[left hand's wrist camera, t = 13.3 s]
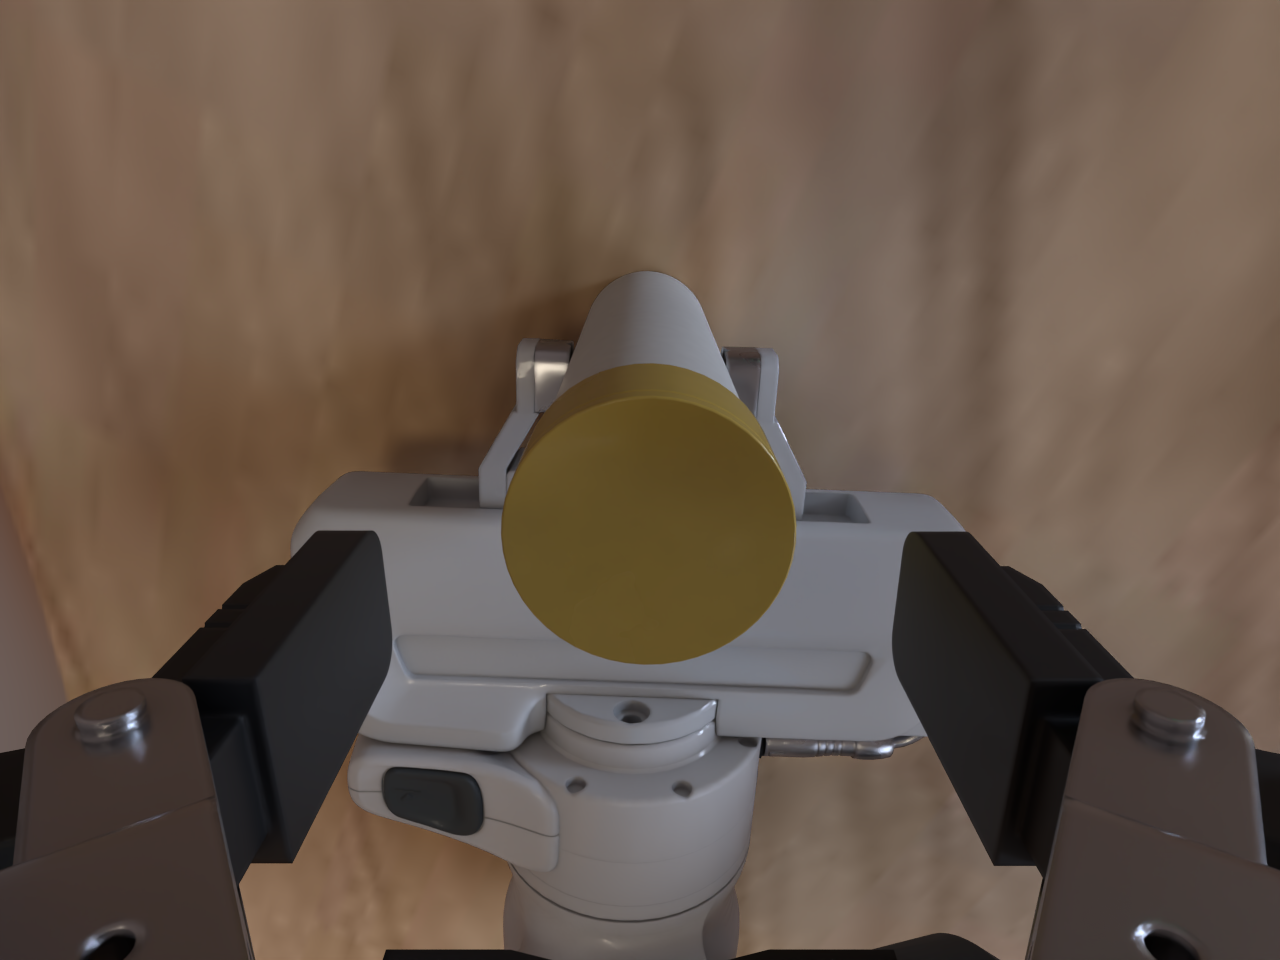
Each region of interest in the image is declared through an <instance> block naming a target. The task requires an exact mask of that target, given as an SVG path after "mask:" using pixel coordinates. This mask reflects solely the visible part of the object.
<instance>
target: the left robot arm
mask: <svg viewBox="0 0 1280 960" xmlns="http://www.w3.org/2000/svg"><path fill="white" fill-rule="evenodd" d="M391 655H392V626H391V618H390V610H389V602H388V594H387V586H386V578H385V570H384V562H383V554H382V547H381V543H380V540H379V537H378V535H377V534H376V532H375V531H372V530H319V531H316V532H315V533H314V534H313V535H312V536H311V537H310V538H309V539H308V540H307V541H306V542H305V544H304V545H303V546H302V547H301V548H300V549H299V550H298V551H297V552H296V553H295V555H294V556H293V557H292V558H291V559H290V560H289V561H288V562H287V563H286V565H276V566H274V567H272V568H270V569H268V570H267V571H265V572H263V573H261V574H259V575H258V576H256V577H254V578H252V579H250V580H248V581H247V582H245V583H243V584H242V585H241V586H240V587H239V588H238V589H237V590H236V591H235V592H234V593H233V594H232V595H231V596H230V597H229V598H228V599H227V601H226V602H225V603H224V604H223V605H222V609H218V610H217V611H216V612H215V613H214V614H213V615H212V616H211V617H210V618H209V619H208V620H207V621H206V622H205V627H204V628H199V629H198V630H197V631H196V633H195V634H194V635H193V636H192V637H191V638H190V639H189V640H188V641H187V642H186V643H185V644H184V645H183V646H182V647H181V648H180V649H179V650H178V651H177V652H176V653H175V654H174V655H173V656H172V657H171V658H170V659H169V660H168V661H167V662H166V663H165V664H164V666H163V667H162V668H161V669H160V670H159V671H158V672H157V673H156V674H155V675H154V676H153V677H152V678H146V679H136V680H130V681H124V682H120V683H116V684H112V685H108V686H105V687H102V688H99V689H96V690H93V691H91V692H88V693H86V694H83V695H81V696H79V697H77V698H75V699H73V700H71V701H69V702H67V703H66V704H64V705H62V706H60V707H59V708H57V709H56V710H55V711H53V712H52V713H50V714H49V715H47V716H46V717H45V718H44V719H43V720H42V721H41V722H40V723H38V725H37V726H36V727H35V728H34V729H33V730H32V732H31V734H30V735H29V737H28V739H27V742H26V746H25V748H24V749H19V750H14V751H9V752H4V753H0V960H255V956H254V952H253V947H252V942H251V938H250V933H249V928H248V924H247V919H246V914H245V910H244V905H243V901H242V897H241V892H240V888H239V883H240V881H241V879H242V878H243V876H244V874H245V872H246V871H247V869H248V867H249V865H250V864H251V863H293V861H294V859H295V857H296V855H297V853H298V851H299V849H300V847H301V845H302V843H303V841H304V839H305V837H306V835H307V833H308V831H309V829H310V827H311V825H312V823H313V821H314V819H315V817H316V815H317V813H318V811H319V809H320V807H321V805H322V803H323V801H324V799H325V797H326V795H327V793H328V791H329V789H330V788H331V786H332V784H333V782H334V780H335V778H336V776H337V774H338V772H339V770H340V768H341V766H342V764H343V762H344V760H345V758H346V756H347V754H348V752H349V750H350V748H351V746H352V744H353V742H354V740H355V738H356V736H357V734H358V732H359V730H360V728H361V726H362V724H363V722H364V720H365V718H366V716H367V714H368V712H369V710H370V708H371V706H372V704H373V702H374V700H375V698H376V696H377V694H378V692H379V690H380V688H381V686H382V684H383V682H384V680H385V678H386V676H387V673H388V670H389V666H390V662H391ZM892 655H893V662H894V667H895V671H896V674H897V677H898V679H899V681H900V683H901V685H902V687H903V689H904V691H905V693H906V695H907V697H908V699H909V701H910V703H911V705H912V707H913V708H914V710H915V712H916V714H917V716H918V718H919V720H920V722H921V724H922V726H923V728H924V730H925V732H926V734H927V736H928V738H929V740H930V742H931V744H932V746H933V748H934V749H935V751H936V753H937V755H938V757H939V759H940V761H941V763H942V765H943V767H944V769H945V771H946V773H947V775H948V777H949V779H950V781H951V783H952V785H953V787H954V789H955V791H956V792H957V794H958V796H959V798H960V800H961V802H962V804H963V806H964V808H965V810H966V812H967V814H968V816H969V818H970V820H971V822H972V824H973V826H974V828H975V830H976V832H977V834H978V835H979V837H980V839H981V841H982V843H983V845H984V847H985V849H986V851H987V853H988V855H989V857H990V859H991V861H992V863H993V865H994V866H1037V868H1038V870H1039V872H1040V873H1041V875H1042V877H1043V879H1042V884H1041V888H1040V892H1039V897H1038V901H1037V905H1036V910H1035V914H1034V919H1033V924H1032V928H1031V933H1030V938H1029V942H1028V947H1027V952H1026V956H1025V960H1280V754H1277V753H1272V752H1267V751H1262V750H1258V749H1255V746H1254V742H1253V739H1252V737H1251V735H1250V734H1249V732H1248V730H1247V729H1246V728H1245V727H1244V726H1243V725H1242V723H1241V722H1239V721H1238V720H1237V719H1236V718H1235V717H1234V716H1233V715H1231V714H1230V713H1228V712H1227V711H1226V710H1224V709H1223V708H1221V707H1220V706H1218V705H1216V704H1214V703H1213V702H1211V701H1209V700H1207V699H1205V698H1203V697H1201V696H1199V695H1197V694H1194V693H1192V692H1189V691H1187V690H1184V689H1181V688H1178V687H1175V686H1172V685H1168V684H1164V683H1160V682H1156V681H1150V680H1144V679H1134V678H1133V677H1132V676H1131V675H1130V674H1129V673H1128V672H1127V671H1126V670H1125V669H1124V668H1123V667H1122V666H1121V665H1120V664H1119V663H1118V662H1117V660H1116V659H1115V658H1114V657H1113V656H1112V655H1111V654H1110V653H1109V652H1108V651H1107V650H1106V649H1105V648H1104V647H1103V646H1102V645H1101V644H1100V643H1099V642H1098V641H1097V640H1096V639H1095V638H1094V637H1093V636H1092V635H1091V634H1090V633H1089V632H1088V631H1087V630H1086V629H1081V624H1080V623H1079V622H1078V621H1077V620H1076V619H1075V618H1074V617H1073V616H1072V615H1071V614H1070V613H1069V611H1064V609H1063V605H1062V604H1061V603H1060V602H1059V601H1058V600H1057V599H1056V598H1055V597H1054V596H1053V595H1052V594H1051V593H1050V592H1049V591H1048V590H1047V589H1046V588H1045V587H1044V586H1043V585H1042V584H1040V583H1038V582H1036V581H1035V580H1033V579H1031V578H1029V577H1027V576H1025V575H1024V574H1022V573H1020V572H1018V571H1016V570H1015V569H1013V568H1011V567H1009V566H1000V565H999V564H998V563H997V562H996V561H995V560H994V559H993V558H992V557H991V556H990V554H989V553H988V552H987V551H986V550H985V549H984V548H983V547H982V546H981V545H980V544H979V542H978V541H977V540H976V539H975V538H974V537H973V536H972V535H971V534H970V533H969V532H966V531H912V532H910V533H909V534H908V535H907V537H906V539H905V542H904V546H903V551H902V558H901V566H900V574H899V582H898V590H897V598H896V606H895V614H894V622H893V629H892ZM383 960H550V959H546V958H542V957H538V956H534V955H530V954H526V953H522V952H518V951H514V950H386V952H385V955H384V958H383ZM730 960H897V958H896V955H895V952H894V950H766V951H762V952H758V953H754V954H750V955H746V956H742V957H738V958H734V959H730Z"/></svg>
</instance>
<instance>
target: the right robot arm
mask: <svg viewBox="0 0 1280 960" xmlns="http://www.w3.org/2000/svg"><path fill="white" fill-rule="evenodd" d="M573 352H574V342H573V341H570V340H553V339H540V338H523V339H522V340H521V342H520V343H519V345H518V348H517V356H516V405H515V406H514V408H513V410H512V411H511V413H510V415H509V416H508V418H507V420H506V422H505V423H504V425H503V427H502V428H501V430H500V432H499V433H498V435H497V437H496V439H495V440H494V442H493V444H492V445H491V447H490V449H489V451H488V452H487V454H486V456H485V458H484V460H483V461H482V463H481V465H480V467H479V469H478V471H479V476H464V475H438V474H413V473H389V472H366V471H355V472H349V473H346V474H344V475H342V476H341V477H339V478H338V479H337V480H336V481H335V482H334V483H333V484H332V485H330V486H329V487H328V488H327V489H326V490H325V491H324V492H323V493H322V494H320V495H319V496H318V497H317V499H316V500H315V501H314V502H313V503H312V504H311V505H310V507H309V508H308V509H307V510H306V511H305V513H304V514H303V515H302V517H301V518H300V520H299V521H298V523H297V525H296V527H295V529H294V531H293V534H292V538H291V558H292V557H293V556H294V555H295V553H296V552H297V551H298V550H299V549H300V548H301V547H302V546H303V545H304V544H305V542H306V541H307V540H308V539H309V538H310V537H311V536H312V535H313V534H314V533H315V532H316V531H319V530H372V531H375V532H376V534H377V535H378V537H379V540H380V543H381V547H382V554H383V562H384V570H385V578H386V586H387V594H388V602H389V610H390V618H391V626H392V655H391V662H390V666H389V670H388V673H387V676H386V678H385V680H384V682H383V684H382V686H381V688H380V690H379V692H378V694H377V696H376V698H375V700H374V702H373V704H372V706H371V708H370V710H369V712H368V714H367V716H366V718H365V720H364V722H363V724H362V726H361V728H360V730H359V732H358V733H359V735H358V737H357V740H356V743H355V746H354V749H353V752H352V756H351V759H350V762H349V766H348V774H347V780H348V789H349V793H350V796H351V798H352V800H353V801H354V802H355V804H356V805H358V806H359V807H360V808H362V809H363V810H365V811H367V812H370V813H372V814H375V815H378V816H381V817H384V818H388V819H391V820H395V821H398V822H402V823H406V824H409V825H412V826H416V827H419V828H422V829H426V830H429V831H432V832H435V833H438V834H441V835H444V836H447V837H450V838H453V839H456V840H459V841H461V842H464V843H467V844H469V845H472V846H474V847H477V848H479V849H482V850H484V851H486V852H489V853H491V854H493V855H495V856H497V857H499V858H501V859H504V860H506V861H507V862H508V865H509V867H510V870H511V872H512V874H513V876H512V878H511V881H510V883H509V887H508V891H507V894H506V899H505V906H504V914H503V934H504V950H514V951H518V952H522V953H526V954H530V955H534V956H538V957H542V958H546V959H550V960H730V959H734V958H736V954H737V947H738V939H739V905H738V899H737V895H736V891H735V887H734V886H735V884H736V882H737V881H738V879H739V877H740V874H741V872H742V869H743V867H744V864H745V862H746V858H747V853H748V849H749V844H750V834H751V826H752V816H753V808H754V799H755V790H756V784H757V775H758V763H759V758H761V757H762V756H779V757H815V756H816V757H819V756H830V755H832V756H838V755H840V756H851V757H852V758H855V759H863V760H875V759H883V758H888V757H891V755H892V754H893V750H894V748H899V747H904V746H907V745H910V744H913V743H915V742H917V741H918V740H920V739H922V738H923V737H926V736H927V734H926V732H925V730H924V728H923V726H922V724H921V722H920V720H919V718H918V716H917V714H916V712H915V710H914V708H913V707H912V705H911V703H910V701H909V699H908V697H907V695H906V693H905V691H904V689H903V687H902V685H901V683H900V681H899V679H898V677H897V674H896V671H895V667H894V662H893V655H892V629H893V622H894V614H895V606H896V598H897V590H898V582H899V574H900V566H901V558H902V551H903V546H904V542H905V539H906V537H907V535H908V534H909V533H910V532H912V531H965V530H964V528H963V527H962V526H961V524H960V523H959V522H958V521H957V520H956V519H955V518H954V516H953V515H952V514H951V513H950V512H949V511H948V510H947V509H946V508H945V507H944V506H943V505H942V504H941V503H940V502H938V501H937V500H936V499H935V498H933V497H931V496H929V495H926V494H918V493H893V492H868V491H842V490H817V489H806V484H807V482H806V480H805V478H804V475H803V473H802V471H801V469H800V467H799V465H798V463H797V461H796V459H795V457H794V454H793V452H792V450H791V448H790V446H789V444H788V442H787V440H786V438H785V436H784V433H783V431H782V429H781V427H780V425H779V423H778V421H777V419H776V417H775V405H776V395H777V386H778V376H779V360H778V355H777V354H776V353H775V351H774V350H773V349H772V348H755V347H722V350H721V356H722V358H723V361H724V363H725V366H726V368H727V370H728V373H729V375H730V378H731V380H732V382H733V385H734V387H735V390H736V392H737V394H738V397H739V399H740V400H741V401H742V402H743V403H744V404H745V405H746V406H747V407H748V409H749V410H750V411H751V412H752V414H753V415H754V416H755V417H756V419H757V421H758V422H759V424H760V426H761V427H762V429H763V431H764V433H765V435H766V437H767V439H768V441H769V444H770V446H771V448H772V450H773V452H774V455H775V457H776V459H777V461H778V463H779V466H780V468H781V470H782V472H783V474H784V477H785V479H786V482H787V484H788V486H789V489H790V492H791V495H792V499H793V503H794V507H795V515H796V525H797V528H796V545H795V551H794V556H793V561H792V564H791V567H790V570H789V573H788V576H787V578H786V580H785V582H784V585H783V587H782V589H781V591H780V593H779V594H778V596H777V597H776V599H775V600H774V602H773V603H772V605H771V606H770V608H769V609H768V610H767V611H766V612H765V613H764V614H763V616H762V617H761V618H760V619H759V620H758V621H757V622H756V623H755V624H754V625H753V626H751V627H750V628H749V629H748V630H747V631H746V632H745V633H743V634H742V635H740V636H739V637H737V638H736V639H734V640H733V641H732V642H730V643H728V644H726V645H724V646H722V647H721V648H719V649H717V650H715V651H712V652H710V653H707V654H705V655H702V656H699V657H697V658H693V659H689V660H685V661H681V662H675V663H668V664H654V665H640V664H629V663H622V662H617V661H612V660H607V659H604V658H601V657H598V656H595V655H592V654H589V653H587V652H585V651H583V650H581V649H578V648H576V647H574V646H573V645H571V644H569V643H568V642H566V641H564V640H563V639H561V638H559V637H558V636H557V635H555V634H554V633H553V632H552V631H550V630H549V629H548V628H547V627H545V626H544V625H543V624H542V623H541V622H540V621H539V620H538V619H537V618H536V617H535V616H534V615H533V613H532V612H531V611H530V609H529V608H528V607H527V606H526V604H525V603H524V602H523V600H522V599H521V597H520V595H519V593H518V592H517V590H516V588H515V586H514V585H513V582H512V580H511V577H510V575H509V572H508V570H507V567H506V563H505V559H504V555H503V550H502V540H501V518H502V511H503V506H504V501H505V497H506V494H507V491H508V488H509V485H510V482H511V480H512V477H513V475H514V473H515V470H516V468H517V466H518V463H519V461H520V459H521V456H522V454H523V452H524V449H525V448H520V449H519V447H520V445H521V443H522V442H523V440H524V438H525V437H526V435H527V433H528V432H529V430H530V428H531V427H532V425H533V423H534V422H535V420H536V418H537V417H538V415H539V413H540V412H545V411H546V410H547V409H548V408H549V407H550V406H551V405H552V404H553V403H554V401H555V399H556V396H557V394H558V391H559V389H560V386H561V383H562V381H563V378H564V376H565V373H566V371H567V368H568V365H569V363H570V360H571V358H572V355H573ZM518 449H519V450H518ZM872 950H894V952H895V955H896V958H897V960H999V959H998V958H996V957H995V956H993V955H991V954H990V953H988V952H987V951H985V950H984V949H982V948H980V947H979V946H977V945H976V944H974V943H972V942H970V941H968V940H966V939H964V938H962V937H959V936H956V935H952V934H947V933H936V934H931V935H927V936H923V937H919V938H915V939H911V940H907V941H903V942H899V943H896V944H892V945H888V946H884V947H880V948H876V949H872Z"/></svg>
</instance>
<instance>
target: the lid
mask: <svg viewBox="0 0 1280 960" xmlns="http://www.w3.org/2000/svg"><path fill="white" fill-rule="evenodd" d="M796 528H797V525H796V515H795V507H794V503H793V499H792V495H791V492H790V489H789V486H788V484H787V482H786V479H785V477H784V474H783V472H782V470H781V468H780V466H779V463H778V461H777V459H776V457H775V455H774V452H773V450H772V448H771V446H770V444H769V441H768V439H767V437H766V435H765V433H764V431H763V429H762V427H761V426H760V424H759V422H758V421H757V419H756V417H755V416H754V415H753V414H752V412H751V411H750V410H749V409H748V407H747V406H746V405H745V404H744V403H743V402H742V401H741V400H740V399H739V398H738V397H737V396H736V395H735V394H733V393H732V392H731V391H729V390H728V389H727V388H725V387H724V386H722V385H721V384H720V383H718V382H716V381H714V380H712V379H710V378H709V377H707V376H705V375H703V374H700V373H697V372H695V371H692V370H689V369H686V368H682V367H677V366H673V365H666V364H656V363H644V364H631V365H625V366H618V367H615V368H611V369H608V370H605V371H601V372H599V373H597V374H594V375H592V376H590V377H588V378H586V379H584V380H582V381H581V382H579V383H577V384H576V385H574V386H572V387H571V388H569V389H568V390H567V391H566V392H565V393H563V394H562V395H561V396H560V397H559V398H557V399H556V400H555V401H554V403H553V404H552V405H551V406H550V407H549V408H548V409H547V410H546V411H545V413H544V414H543V416H542V417H541V418H540V420H539V421H538V423H537V424H536V426H535V428H534V430H533V432H532V434H531V436H530V438H529V440H528V442H527V445H526V447H525V449H524V452H523V454H522V456H521V459H520V461H519V463H518V466H517V468H516V470H515V473H514V475H513V477H512V480H511V482H510V485H509V488H508V491H507V494H506V497H505V501H504V506H503V511H502V518H501V540H502V550H503V555H504V559H505V563H506V567H507V570H508V572H509V575H510V577H511V580H512V582H513V585H514V586H515V588H516V590H517V592H518V593H519V595H520V597H521V599H522V600H523V602H524V603H525V604H526V606H527V607H528V608H529V609H530V611H531V612H532V613H533V615H534V616H535V617H536V618H537V619H538V620H539V621H540V622H541V623H542V624H543V625H544V626H545V627H547V628H548V629H549V630H550V631H552V632H553V633H554V634H555V635H557V636H558V637H559V638H561V639H563V640H564V641H566V642H568V643H569V644H571V645H573V646H574V647H576V648H578V649H581V650H583V651H585V652H587V653H589V654H592V655H595V656H598V657H601V658H604V659H607V660H612V661H617V662H622V663H629V664H640V665H654V664H668V663H675V662H681V661H685V660H689V659H693V658H697V657H699V656H702V655H705V654H707V653H710V652H712V651H715V650H717V649H719V648H721V647H722V646H724V645H726V644H728V643H730V642H732V641H733V640H734V639H736V638H737V637H739V636H740V635H742V634H743V633H745V632H746V631H747V630H748V629H749V628H750V627H751V626H753V625H754V624H755V623H756V622H757V621H758V620H759V619H760V618H761V617H762V616H763V614H764V613H765V612H766V611H767V610H768V609H769V608H770V606H771V605H772V603H773V602H774V600H775V599H776V597H777V596H778V594H779V593H780V591H781V589H782V587H783V585H784V582H785V580H786V578H787V576H788V573H789V570H790V567H791V564H792V561H793V556H794V551H795V545H796Z"/></svg>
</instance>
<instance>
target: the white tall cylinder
mask: <svg viewBox="0 0 1280 960" xmlns="http://www.w3.org/2000/svg"><path fill="white" fill-rule="evenodd" d="M644 363H656V364H666V365H673V366H677V367H682V368H686V369H689V370H692V371H695V372H697V373H700V374H703V375H705V376H707V377H709V378H710V379H712V380H714V381H716V382H718V383H720V384H721V385H722V386H724V387H725V388H727V389H728V390H729V391H731V392H732V393H733V394H735V395H736V396H737V397H738V394H737V392H736V390H735V387H734V385H733V382H732V380H731V378H730V375H729V373H728V370H727V368H726V366H725V363H724V361H723V358H722V356H721V353H720V351H719V349H718V346H717V344H716V341H715V339H714V337H713V334H712V332H711V329H710V327H709V325H708V322H707V320H706V317H705V315H704V312H703V310H702V308H701V305H700V303H699V302H698V300H697V298H696V297H695V296H694V294H693V293H692V292H691V291H690V290H689V289H688V288H687V287H686V286H685V285H684V284H683V283H681V282H680V281H678V280H677V279H675V278H673V277H671V276H668V275H666V274H662V273H658V272H651V271H641V272H634V273H630V274H627V275H624V276H622V277H620V278H618V279H616V280H614V281H613V282H611V283H610V284H609V285H607V286H606V287H605V288H604V289H603V290H602V291H601V292H600V293H599V295H598V296H597V298H596V299H595V301H594V302H593V304H592V306H591V308H590V311H589V314H588V316H587V319H586V321H585V324H584V327H583V329H582V332H581V334H580V337H579V339H578V342H577V345H576V347H575V350H574V352H573V355H572V358H571V360H570V363H569V365H568V368H567V371H566V373H565V376H564V378H563V381H562V383H561V386H560V389H559V391H558V394H557V396H556V399H557V398H559V397H560V396H561V395H562V394H563V393H565V392H566V391H567V390H568V389H569V388H571V387H572V386H574V385H576V384H577V383H579V382H581V381H582V380H584V379H586V378H588V377H590V376H592V375H594V374H597V373H599V372H601V371H605V370H608V369H611V368H615V367H618V366H625V365H631V364H644ZM738 398H739V397H738ZM556 399H555V400H556Z"/></svg>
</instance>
